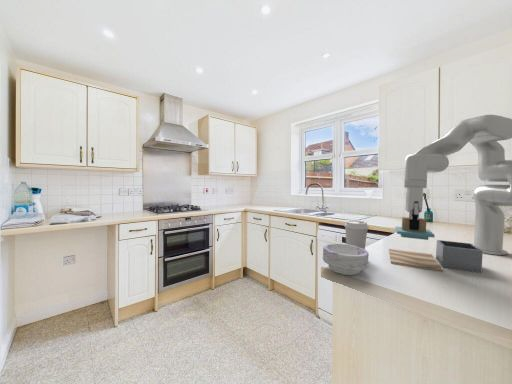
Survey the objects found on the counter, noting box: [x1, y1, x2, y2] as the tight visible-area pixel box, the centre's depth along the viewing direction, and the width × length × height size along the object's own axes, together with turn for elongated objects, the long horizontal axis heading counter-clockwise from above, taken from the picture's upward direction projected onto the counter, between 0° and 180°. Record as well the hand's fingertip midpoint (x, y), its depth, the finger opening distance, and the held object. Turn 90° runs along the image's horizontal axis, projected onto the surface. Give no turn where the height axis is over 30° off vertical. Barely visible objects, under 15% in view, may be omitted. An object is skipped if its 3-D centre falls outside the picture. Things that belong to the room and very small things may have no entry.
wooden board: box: [388, 248, 443, 272], centre depth 94 cm, size 20×16×1 cm
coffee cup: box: [343, 220, 370, 250], centre depth 96 cm, size 10×10×15 cm
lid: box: [394, 216, 435, 241], centre depth 93 cm, size 12×12×8 cm
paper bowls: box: [322, 242, 369, 276], centre depth 81 cm, size 15×15×8 cm
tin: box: [435, 239, 484, 274], centre depth 87 cm, size 11×11×8 cm
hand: (413, 228), depth 93 cm, fingers closed on lid, 3 cm apart
